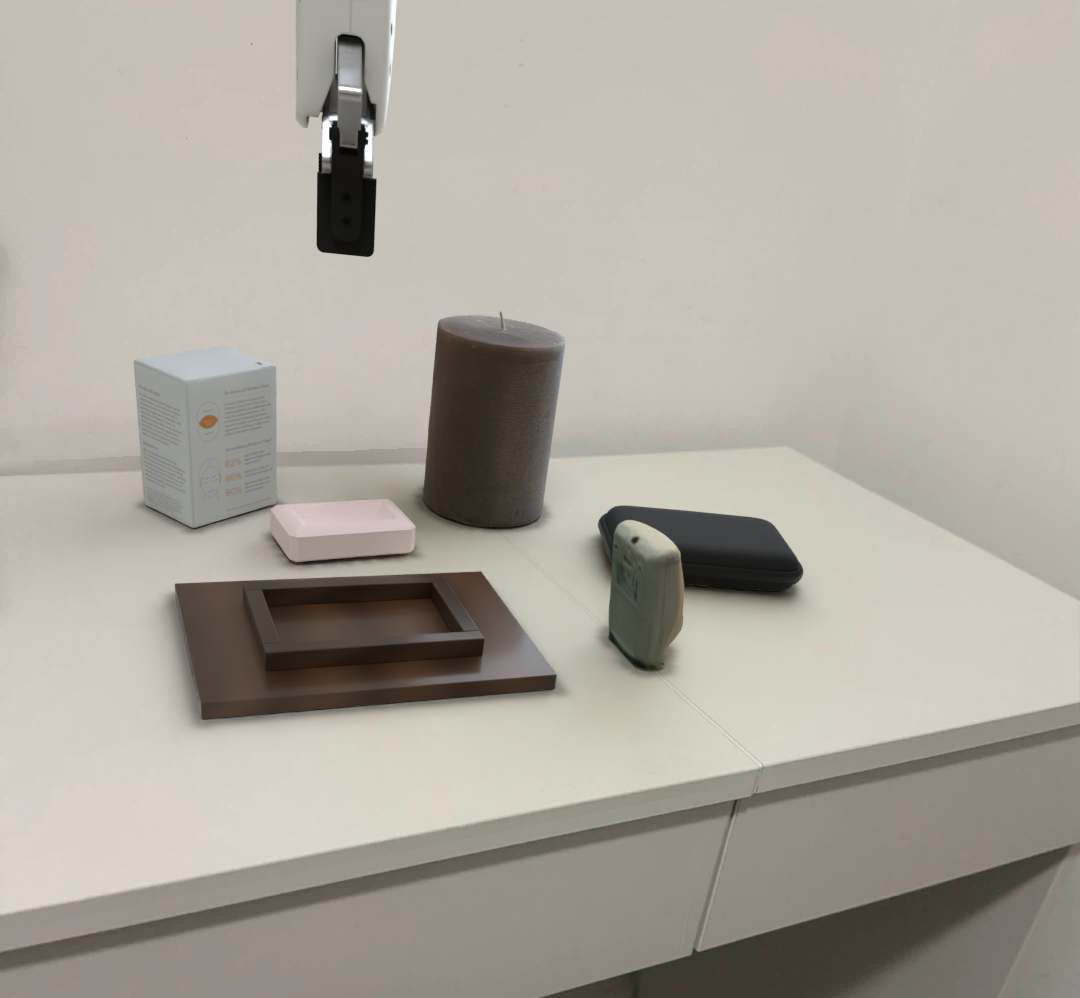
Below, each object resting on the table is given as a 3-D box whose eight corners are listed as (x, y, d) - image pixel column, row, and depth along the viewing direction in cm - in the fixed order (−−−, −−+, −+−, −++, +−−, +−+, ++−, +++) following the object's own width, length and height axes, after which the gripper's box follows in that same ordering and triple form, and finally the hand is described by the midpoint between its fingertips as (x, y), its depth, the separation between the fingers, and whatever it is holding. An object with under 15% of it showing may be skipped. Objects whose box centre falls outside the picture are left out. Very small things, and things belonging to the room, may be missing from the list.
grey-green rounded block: (572, 645, 67) (592, 528, 63) (615, 620, 71) (636, 508, 67) (649, 679, 65) (675, 560, 61) (689, 651, 69) (716, 537, 65)
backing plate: (201, 719, 55) (199, 683, 54) (175, 597, 66) (173, 565, 64) (554, 689, 62) (560, 657, 61) (479, 584, 73) (483, 555, 72)
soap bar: (268, 534, 75) (268, 502, 74) (389, 526, 79) (391, 495, 78) (290, 566, 71) (291, 532, 70) (416, 555, 76) (418, 524, 74)
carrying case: (765, 542, 87) (589, 526, 85) (774, 507, 85) (595, 490, 83) (804, 601, 78) (609, 585, 76) (815, 563, 76) (616, 546, 74)
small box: (229, 482, 82) (225, 343, 77) (279, 505, 80) (279, 363, 74) (141, 505, 77) (130, 357, 71) (191, 530, 74) (185, 379, 69)
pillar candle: (454, 533, 80) (474, 328, 72) (404, 486, 87) (416, 293, 79) (564, 524, 84) (594, 329, 77) (508, 479, 91) (530, 297, 83)
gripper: (283, -113, 61) (285, 210, 71) (270, -151, 47) (274, 259, 56) (413, -91, 63) (398, 223, 72) (438, -121, 49) (415, 273, 58)
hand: (344, 238), depth 64 cm, fingers open, 9 cm apart
